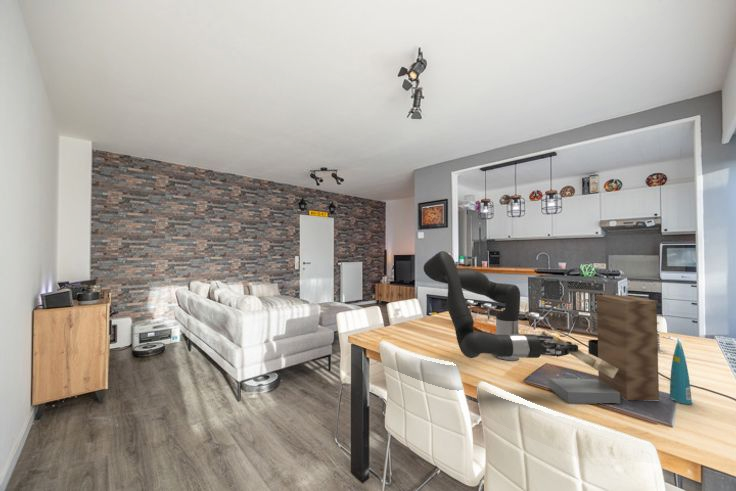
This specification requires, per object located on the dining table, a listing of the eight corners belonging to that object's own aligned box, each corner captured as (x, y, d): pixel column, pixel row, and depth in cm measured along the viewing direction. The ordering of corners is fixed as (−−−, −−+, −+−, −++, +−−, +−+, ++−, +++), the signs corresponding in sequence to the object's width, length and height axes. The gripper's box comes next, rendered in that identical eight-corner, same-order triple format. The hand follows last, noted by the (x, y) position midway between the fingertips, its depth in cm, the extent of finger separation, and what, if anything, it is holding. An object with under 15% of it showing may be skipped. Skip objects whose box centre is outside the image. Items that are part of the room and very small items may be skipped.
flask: (533, 354, 138) (533, 331, 138) (532, 352, 141) (532, 329, 141) (556, 356, 135) (556, 332, 135) (554, 354, 138) (554, 331, 138)
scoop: (558, 346, 95) (563, 337, 95) (547, 340, 101) (552, 332, 101) (613, 378, 94) (618, 369, 94) (598, 371, 100) (603, 362, 100)
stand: (626, 401, 94) (624, 300, 94) (597, 383, 106) (595, 295, 107) (660, 401, 93) (658, 300, 94) (627, 384, 106) (625, 295, 107)
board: (568, 403, 92) (568, 392, 92) (549, 388, 102) (549, 378, 102) (620, 404, 92) (620, 392, 92) (596, 389, 102) (596, 379, 102)
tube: (668, 394, 98) (666, 336, 99) (689, 398, 95) (687, 339, 96) (671, 402, 93) (669, 341, 93) (694, 408, 90) (692, 344, 90)
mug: (629, 368, 121) (628, 345, 121) (600, 368, 121) (600, 346, 121) (609, 359, 130) (609, 339, 131) (583, 360, 130) (582, 339, 130)
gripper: (512, 350, 105) (561, 351, 105) (533, 365, 91) (589, 365, 91) (512, 329, 105) (560, 329, 105) (533, 340, 91) (589, 341, 91)
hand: (574, 346), depth 98 cm, fingers closed on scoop, 2 cm apart
